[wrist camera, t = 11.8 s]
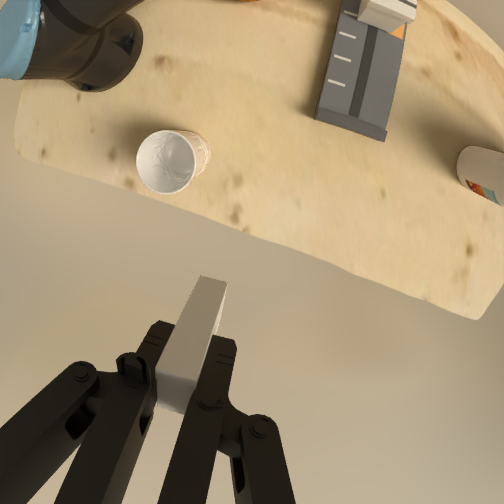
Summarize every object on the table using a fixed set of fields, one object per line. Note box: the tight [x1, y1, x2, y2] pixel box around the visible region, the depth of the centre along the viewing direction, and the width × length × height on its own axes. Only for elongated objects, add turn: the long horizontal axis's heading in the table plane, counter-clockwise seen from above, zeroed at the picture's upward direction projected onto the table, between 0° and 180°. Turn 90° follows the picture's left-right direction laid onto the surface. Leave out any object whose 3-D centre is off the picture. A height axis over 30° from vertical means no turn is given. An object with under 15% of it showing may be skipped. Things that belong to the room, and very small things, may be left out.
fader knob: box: [357, 0, 417, 33], centre depth 23 cm, size 5×6×8 cm
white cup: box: [136, 130, 211, 194], centre depth 36 cm, size 8×8×10 cm
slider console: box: [314, 0, 407, 142], centre depth 30 cm, size 24×10×3 cm, turn 168°
